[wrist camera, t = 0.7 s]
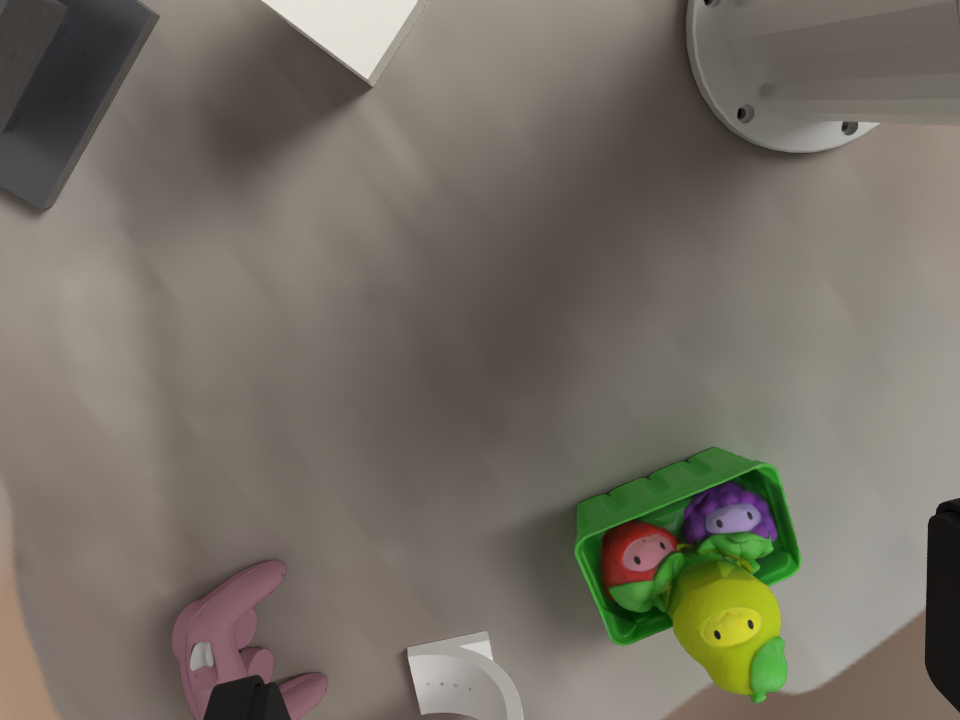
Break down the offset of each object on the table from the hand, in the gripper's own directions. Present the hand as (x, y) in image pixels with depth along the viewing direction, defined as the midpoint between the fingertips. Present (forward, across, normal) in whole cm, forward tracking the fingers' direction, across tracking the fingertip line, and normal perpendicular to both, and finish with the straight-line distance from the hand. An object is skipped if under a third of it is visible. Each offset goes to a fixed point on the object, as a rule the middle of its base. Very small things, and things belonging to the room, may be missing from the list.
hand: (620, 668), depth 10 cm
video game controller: (+29, +15, +19) cm, 38 cm away
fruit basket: (+29, -9, +18) cm, 35 cm away
